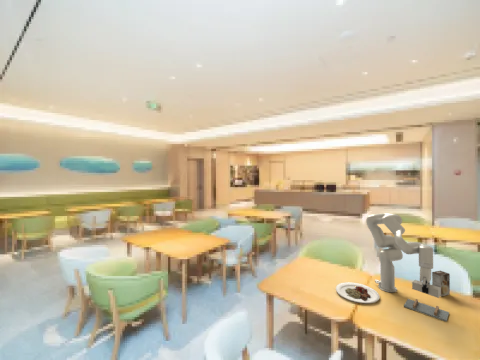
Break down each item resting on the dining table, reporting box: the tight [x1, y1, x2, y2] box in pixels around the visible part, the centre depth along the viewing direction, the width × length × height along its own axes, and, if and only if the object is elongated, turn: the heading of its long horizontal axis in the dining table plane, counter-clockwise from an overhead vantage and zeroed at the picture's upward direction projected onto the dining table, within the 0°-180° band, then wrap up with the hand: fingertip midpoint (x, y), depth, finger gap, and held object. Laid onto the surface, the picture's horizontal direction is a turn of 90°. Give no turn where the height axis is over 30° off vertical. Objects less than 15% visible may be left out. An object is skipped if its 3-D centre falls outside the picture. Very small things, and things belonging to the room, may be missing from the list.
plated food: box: [335, 281, 381, 304], centre depth 174 cm, size 30×30×3 cm
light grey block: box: [411, 279, 442, 299], centre depth 151 cm, size 14×5×5 cm, turn 33°
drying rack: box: [403, 298, 450, 323], centre depth 152 cm, size 22×12×3 cm, turn 42°
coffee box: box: [431, 270, 451, 297], centre depth 172 cm, size 9×6×16 cm
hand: (426, 290), depth 151 cm, fingers closed on light grey block, 5 cm apart
